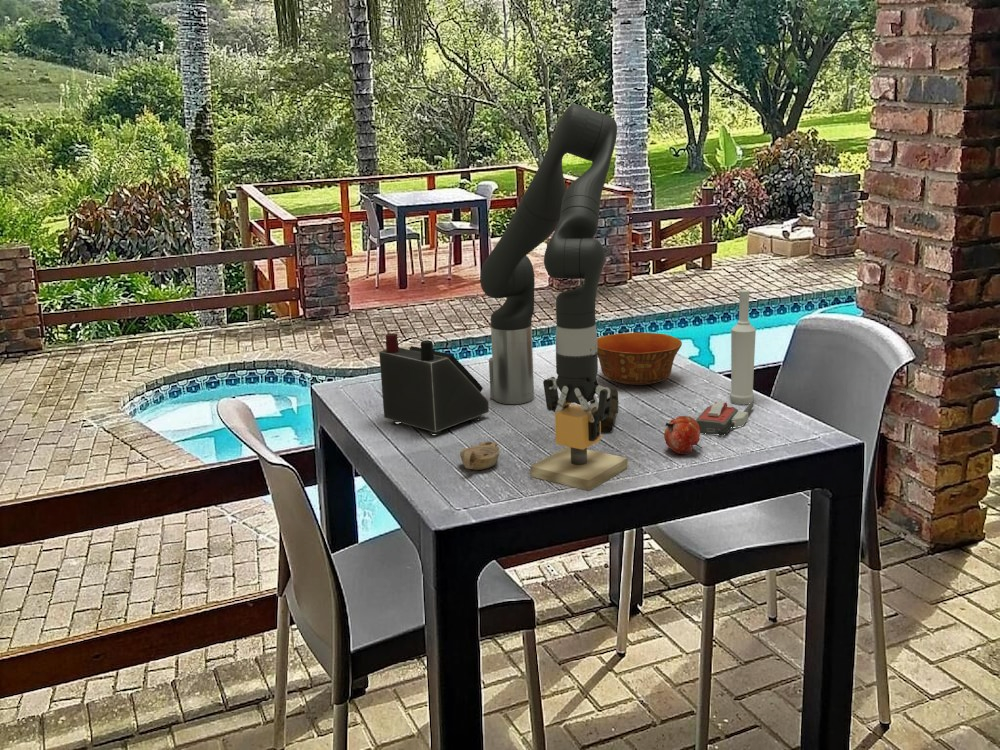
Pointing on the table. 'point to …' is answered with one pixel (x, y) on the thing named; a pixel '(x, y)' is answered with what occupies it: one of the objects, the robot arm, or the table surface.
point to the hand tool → (609, 422)
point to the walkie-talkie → (721, 418)
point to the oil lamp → (480, 456)
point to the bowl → (637, 357)
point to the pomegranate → (682, 434)
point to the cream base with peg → (579, 467)
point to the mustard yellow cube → (573, 428)
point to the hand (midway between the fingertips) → (578, 436)
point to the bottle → (742, 354)
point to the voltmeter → (427, 387)
